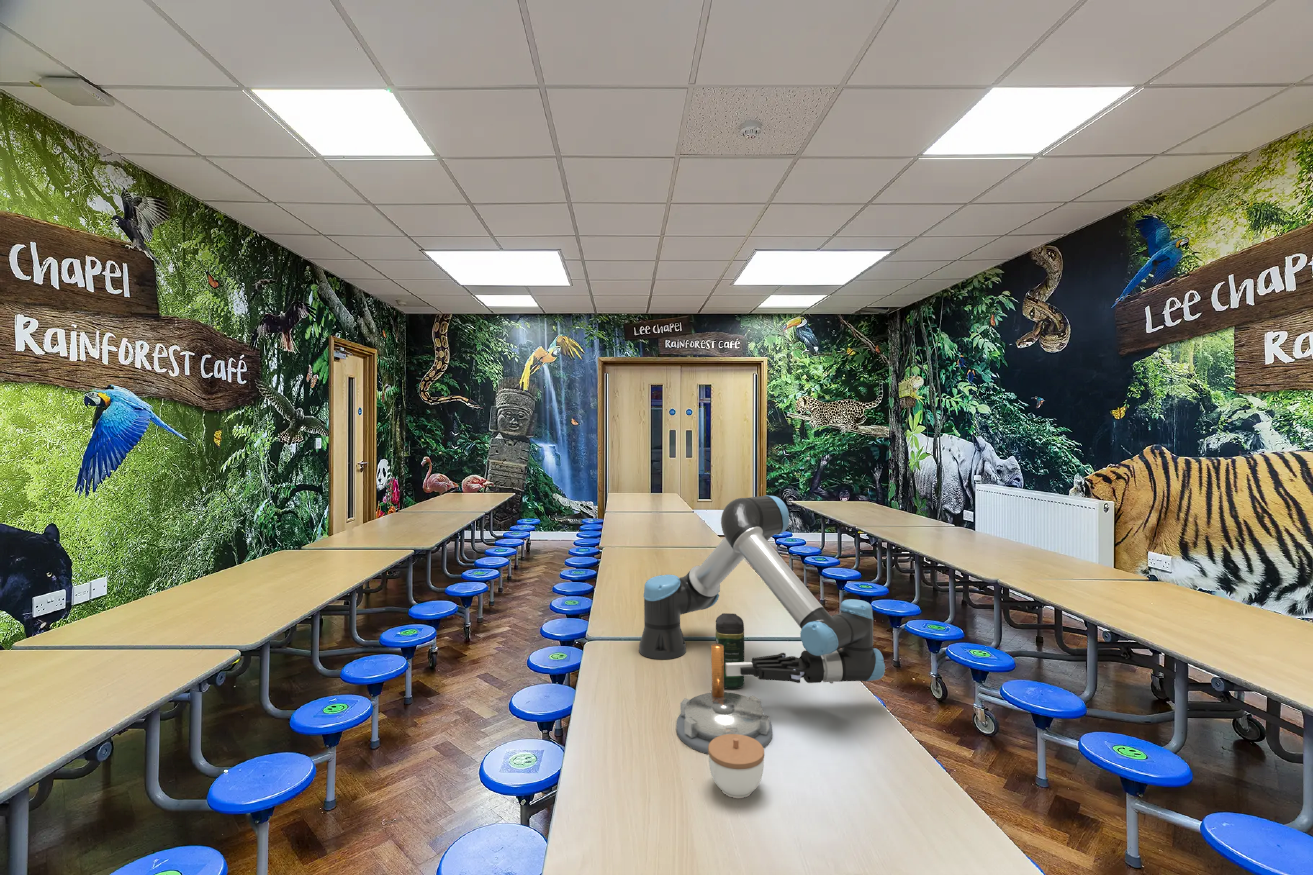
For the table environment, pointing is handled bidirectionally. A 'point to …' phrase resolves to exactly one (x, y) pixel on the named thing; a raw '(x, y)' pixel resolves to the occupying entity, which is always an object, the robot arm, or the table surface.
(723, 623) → the coffee jar
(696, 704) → the lugged metal dome
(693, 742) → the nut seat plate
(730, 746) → the lidded jar
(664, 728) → the table surface
